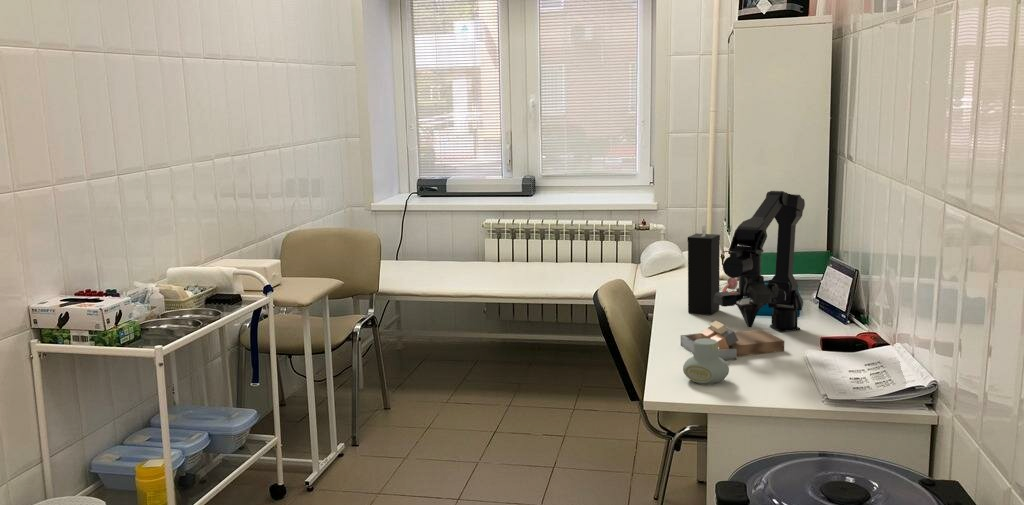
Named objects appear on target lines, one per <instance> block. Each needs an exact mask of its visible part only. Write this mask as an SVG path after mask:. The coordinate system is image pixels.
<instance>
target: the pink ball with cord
mask: <svg viewBox="0 0 1024 505" xmlns="http://www.w3.org/2000/svg"><path fill="white" fill-rule="evenodd" d="M726 280H727V281H726V282H725V283H723V284H719V290H722V291H721V292H726V291H727V289H729V290H731V291H729V292H730V293H732V294H739V293H738V292H737V291H733V290H735V289H737V288H738V286H739V278H731V277H728V278H726Z"/></svg>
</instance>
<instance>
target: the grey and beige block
mask: <svg viewBox="0 0 1024 505" xmlns="http://www.w3.org/2000/svg"><path fill="white" fill-rule="evenodd" d="M709 325H710V326H709V327H707V329H710V330H712V331H714V332H715V334H716V335H717V334H719V335H721V336H723V337H725V339H726V342H727V344H728V346H731V345H732V344H734V343H735V342H737V341H739V340H738V338H737V336H736V334H735V332H736V331H734V330H732V329H731V328H729V327H727V326H725V324H723V323H722V322H719V321H717V320H714V321H713V322H711V323H710V324H709Z"/></svg>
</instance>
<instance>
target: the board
mask: <svg viewBox="0 0 1024 505" xmlns="http://www.w3.org/2000/svg"><path fill="white" fill-rule="evenodd" d="M734 332H735V334H736V336H737V338H738V340H739V341H737V342H735V343H734V344H732V345H731V346H729V349H731V348H736V349H737V357H744V356H754V355H763V354H772V352H773V353H782V352H785V339H782V338H780V337H779V336H777V335H774V334H772V333H770V332H768V331H766V330H764V329H761V328H760V329H753V330H745V331H744V330H742V331H734Z"/></svg>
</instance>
